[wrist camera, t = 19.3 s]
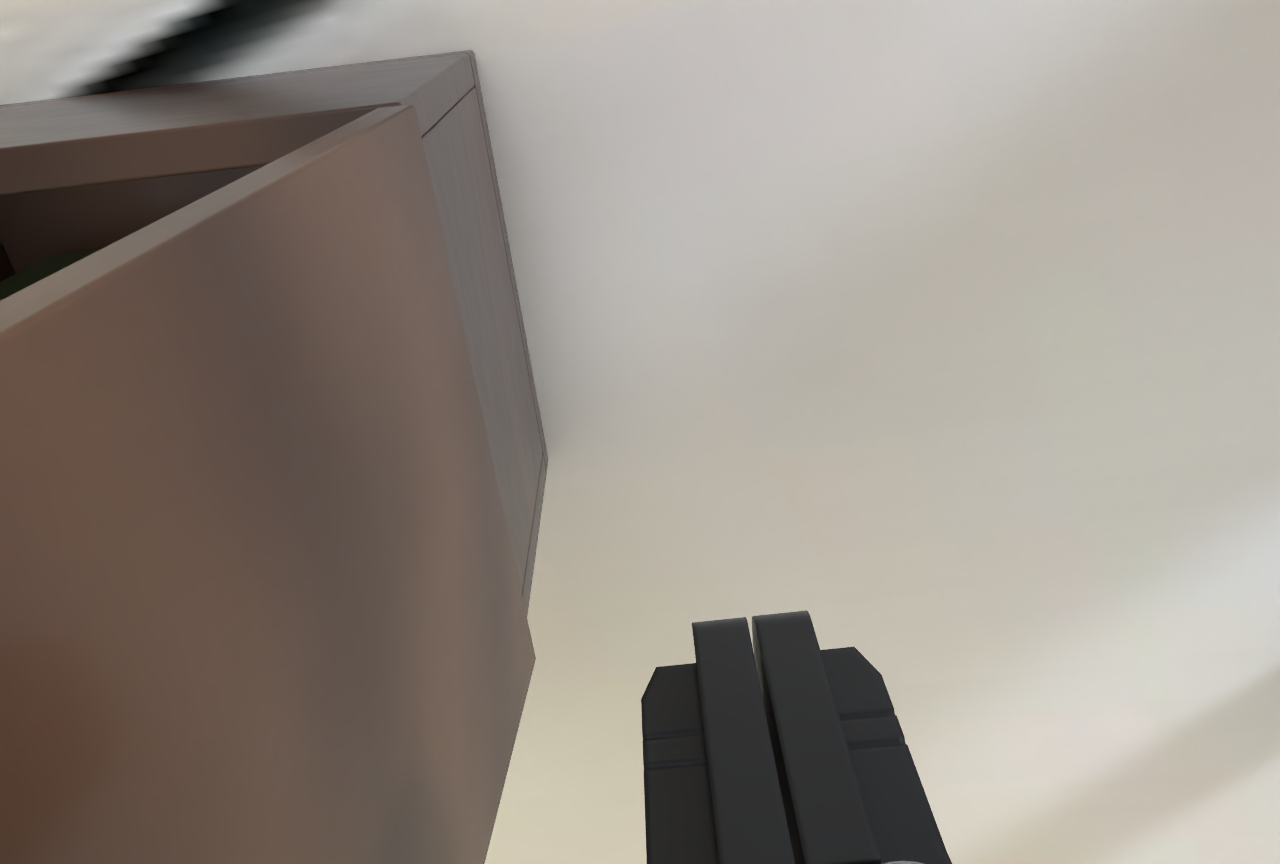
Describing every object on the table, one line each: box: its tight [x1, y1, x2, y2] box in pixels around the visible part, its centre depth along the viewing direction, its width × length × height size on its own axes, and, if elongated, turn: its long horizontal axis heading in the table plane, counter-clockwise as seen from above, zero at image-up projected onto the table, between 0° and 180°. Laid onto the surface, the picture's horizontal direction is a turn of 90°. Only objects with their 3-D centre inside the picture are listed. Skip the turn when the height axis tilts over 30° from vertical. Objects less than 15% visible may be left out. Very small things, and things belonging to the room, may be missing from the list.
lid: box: [0, 105, 536, 864], centre depth 11 cm, size 15×13×1 cm
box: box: [0, 50, 548, 617], centre depth 22 cm, size 15×13×9 cm
